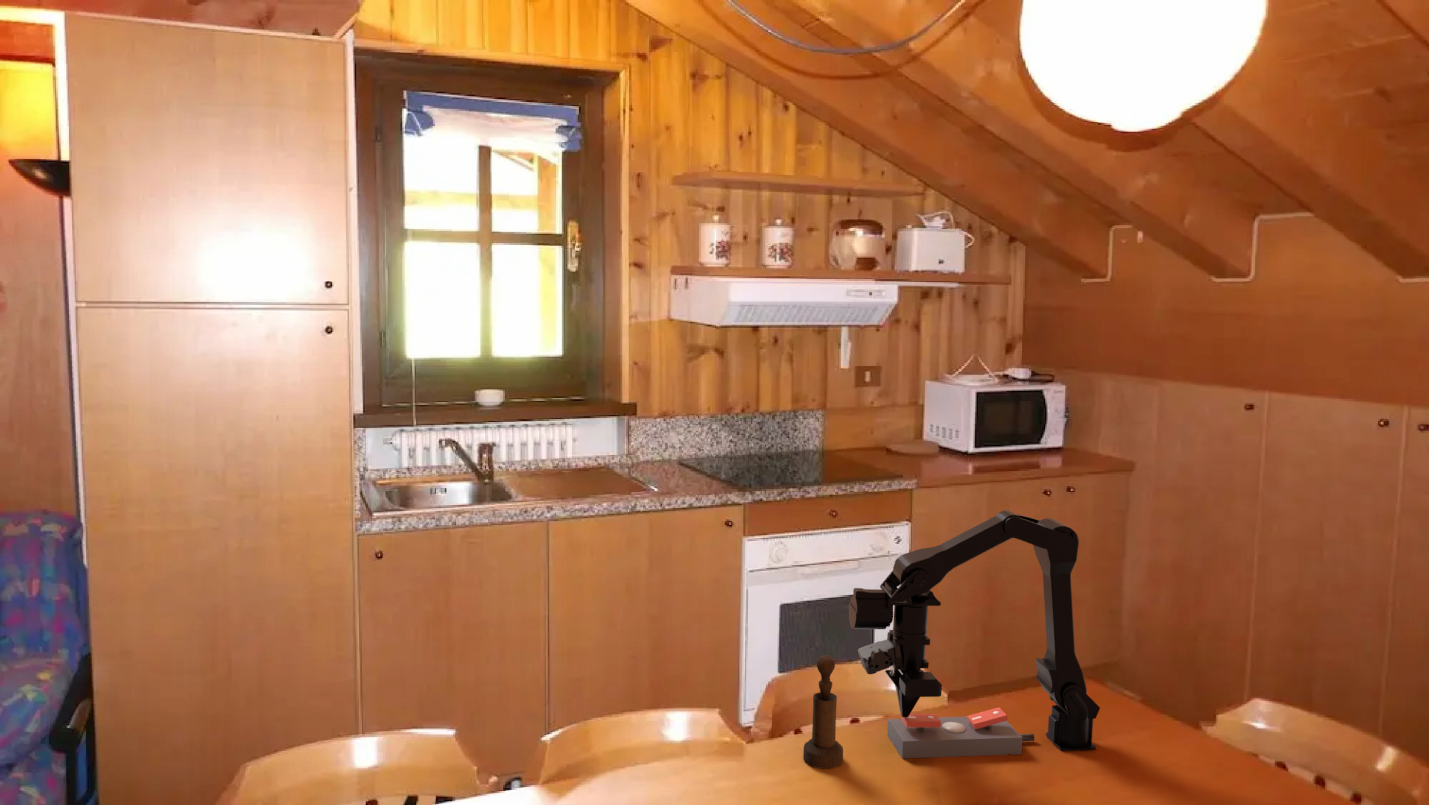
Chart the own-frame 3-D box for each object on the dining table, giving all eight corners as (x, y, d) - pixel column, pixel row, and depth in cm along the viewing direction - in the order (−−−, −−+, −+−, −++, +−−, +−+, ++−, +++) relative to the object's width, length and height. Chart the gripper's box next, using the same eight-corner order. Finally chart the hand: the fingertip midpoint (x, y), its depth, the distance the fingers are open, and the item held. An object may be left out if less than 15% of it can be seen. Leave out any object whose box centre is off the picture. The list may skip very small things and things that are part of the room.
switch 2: (1000, 712, 180) (998, 706, 179) (1007, 720, 176) (1006, 714, 176) (967, 721, 179) (966, 715, 179) (974, 729, 176) (973, 723, 176)
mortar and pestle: (842, 752, 174) (845, 650, 172) (843, 770, 167) (846, 664, 165) (803, 750, 174) (806, 648, 172) (802, 767, 168) (805, 662, 166)
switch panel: (1022, 730, 183) (1023, 711, 183) (1043, 753, 175) (1044, 733, 174) (887, 735, 181) (888, 715, 180) (902, 758, 172) (902, 738, 171)
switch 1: (934, 719, 178) (934, 713, 178) (940, 727, 175) (941, 721, 175) (900, 719, 178) (901, 713, 178) (906, 727, 174) (907, 721, 174)
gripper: (850, 611, 182) (846, 695, 184) (878, 648, 164) (873, 740, 166) (910, 611, 184) (905, 695, 185) (945, 647, 165) (939, 739, 167)
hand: (904, 716), depth 176 cm, fingers closed
